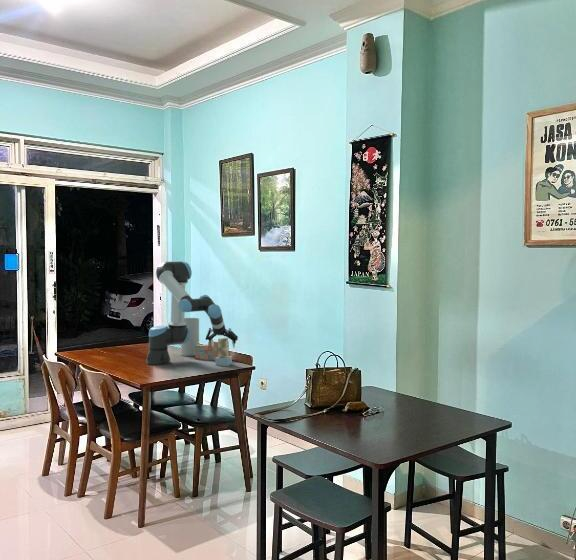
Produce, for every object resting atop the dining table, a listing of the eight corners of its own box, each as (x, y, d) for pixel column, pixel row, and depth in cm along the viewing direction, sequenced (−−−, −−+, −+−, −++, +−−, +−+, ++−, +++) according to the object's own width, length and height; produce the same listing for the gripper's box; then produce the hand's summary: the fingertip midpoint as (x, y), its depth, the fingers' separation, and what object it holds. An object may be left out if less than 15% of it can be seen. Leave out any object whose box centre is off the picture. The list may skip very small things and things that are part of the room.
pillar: (218, 357, 362) (218, 338, 361) (220, 356, 367) (220, 337, 366) (226, 357, 361) (226, 338, 361) (228, 356, 366) (227, 337, 366)
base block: (215, 365, 362) (215, 357, 361) (219, 363, 369) (219, 355, 369) (227, 366, 360) (227, 358, 360) (231, 364, 367) (231, 356, 367)
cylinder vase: (199, 355, 396) (199, 319, 395) (181, 356, 393) (181, 320, 392) (198, 353, 408) (198, 317, 407) (180, 353, 405) (180, 318, 404)
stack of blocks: (195, 359, 383) (195, 340, 383) (198, 357, 389) (198, 339, 389) (225, 360, 378) (225, 342, 378) (228, 359, 384) (228, 340, 384)
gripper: (196, 329, 349) (203, 350, 365) (237, 330, 347) (242, 350, 362) (199, 319, 354) (205, 340, 370) (239, 320, 352) (243, 341, 367)
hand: (223, 345), depth 366 cm, fingers open, 13 cm apart
